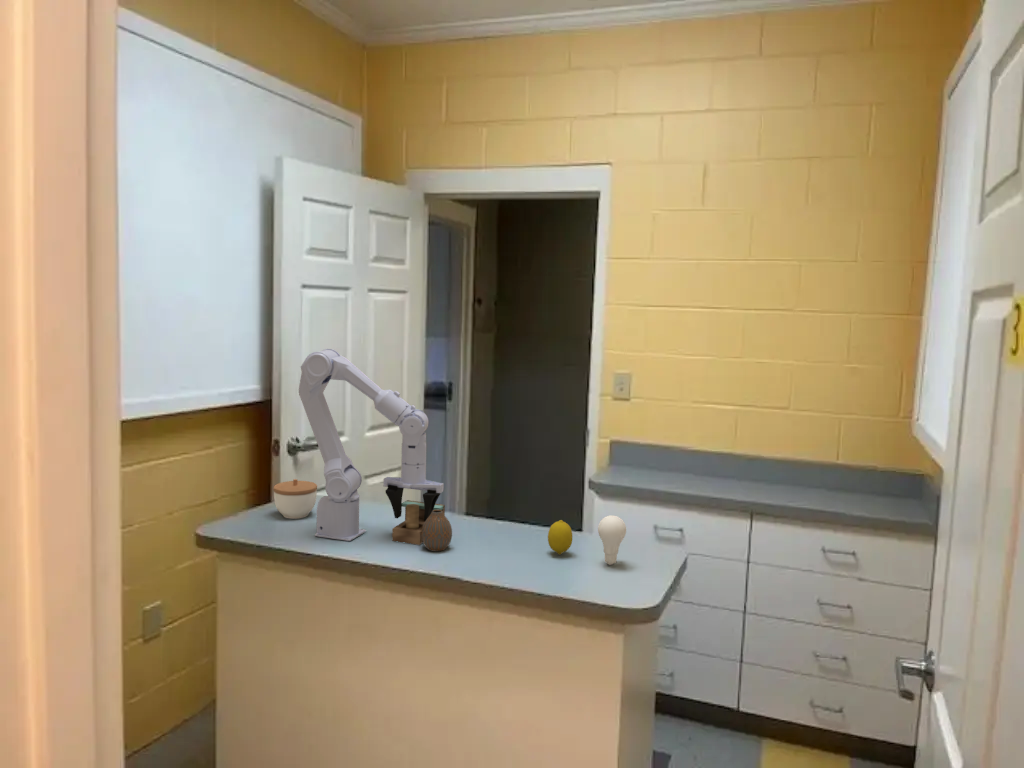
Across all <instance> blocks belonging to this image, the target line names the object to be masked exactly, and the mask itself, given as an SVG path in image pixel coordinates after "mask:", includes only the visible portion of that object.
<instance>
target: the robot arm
mask: <svg viewBox="0 0 1024 768" xmlns="http://www.w3.org/2000/svg"><path fill="white" fill-rule="evenodd" d="M300 370H301V372H300V373H301V374H300V380H299V386H298V395H299V398H300V401H301V403H302V406H303V408H304V411H305V413H306V417H307V419H308V422H309V425H310V427H311V428H310V429H311V430H312V434H313V435H314V438H315V441H316V443H317V446H318V449H319V452H320V454H321V457H322V459H323V462H324V468H323V476H324V479H325V486H324V488H325V492H326V494H327V495H324V496H322V497H321V498H320V499H319V500H318V502H317V507H316V533H314V537H317V538H318V537H319V538H326V539H333V540H338V541H339V540H340V541H345V542H351V541H353V540H354V539H357V538H358V537H359V536H361V535H363V534H364V533H366V532H367V529H365V528H363V529H362V528H360V495H359V493H358V489H359V487H361V485H362V474H361V472H360V471H359V470H358V469H357V468H356V467H355V465H354V464H353V461H352V459H351V458H350V457H349V456H348V455H347V454H346V451H345V449H344V446H343V443H342V440H341V437H340V436H339V432H338V430H337V427H336V425H335V421H334V418H333V416H332V413H331V411H330V409H329V408H330V407H329V404H328V402H327V399H326V397H325V394H324V392H325V390H326V388H327V386H328V385H329V382H330V381H331V380H336V381H344V382H345V381H346V382H347V383H348V384H350V385H351V386H353V388H355V389H356V390H358V391H360V392H361V393H362V394H364V396H367V397H368V398H369V399H371V400H372V401H373V403H374V404H373V405H374V409H375V410H376V411H377V412H378V413H380V414H381V415H383V416H384V417H385V418H386V419H387V420H388V421H390V422H391V423H392V424H394V425H395V426H397V427H399V431H400V433H401V435H402V437H401V439H402V441H401V457H400V458H401V463H400V464H401V465H400V466H401V469H400V477H395V476H392V477H391V476H387V477H384V478H383V485H382V486H383V487H384V488H386V489H385V494H386V496H387V498H388V500H389V502H390V505H391V507H392V510H393V511H392V512H393V516H394V518H395V519H399V518H400V517H402V512H403V511H402V507H403V506H402V503H403V496H404V495H403V493H404V489H407V490H418V491H425V492H424V493H423V494H422V498H423V502H424V507H425V512H424V521H426V519H427V518H428V517H429V516H430V514H431V512H432V511H433V509H434V506H435V504H437V501H438V499H439V498H440V496H441V494H442V493H443V492H444V488H445V487H444V482H438V481H433V480H429V479H427V432H426V430H427V429H428V427H429V418H428V415H427V414H426V413H425V412H424V410H422V409H419V408H418V409H417V408H416V407H417V406H415V405H414V404H412V405H411V404H410V403H408V402H407V401H406V400H405V399H404V398H403V397H401V396H400V395H401V393H400V392H399V391H398V390H394V391H393V390H392V389H382V388H381V387H380V386H379V385H378V384H377V383H375V382H374V381H373V380H372V379H371V378H369V376H367V375H366V374H365V373H364V372H363V371H362V370H361V369H360V368H359V367H357V366H356V365H355V364H354V363H353V362H352V361H350V360H349V359H348V358H347V357H345V356H343V355H341V354H340V353H339V352H338V351H337V350H335V349H332V348H325V349H323V350H320V351H313V352H311V353H310V354H308V355H307V357H306V358H305V359H304V361H303V362H302V364H301V366H300Z"/></svg>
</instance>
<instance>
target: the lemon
mask: <svg viewBox="0 0 1024 768" xmlns="http://www.w3.org/2000/svg"><path fill="white" fill-rule="evenodd" d="M549 527H550V528H549V529H548V533H547V542H548V546H549V548H550V549H551V550H552V551H554V552H555V553H557V555H559V556H560V555H562V554H563V553H564V552H567V551H568V550H569V549H570V548H571V546H572V543H573V530H572V527H571V526H570V525H569V524H568V523H566V521H563V520H562V519H560V520H558V521H555V522H553V524H551V525H550V526H549Z"/></svg>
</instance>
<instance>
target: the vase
mask: <svg viewBox="0 0 1024 768" xmlns="http://www.w3.org/2000/svg"><path fill="white" fill-rule="evenodd" d="M452 537H453V528H452V525H451V522H450V521H449V519H448V518H447V516H446V514H445V515H444V513H443V511H442V510H433V511H432V512H431V514H430V516H429V517H428V518H427V519H426V521H425V522H424V524H423V527H422V541H423V543H422V544H423V545H424V547H425V548H427V550H429V551H433V552H441V551H444V550H446V549H447V548H448V547H449V546H450V543H451V541H452Z"/></svg>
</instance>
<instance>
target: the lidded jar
mask: <svg viewBox="0 0 1024 768" xmlns="http://www.w3.org/2000/svg"><path fill="white" fill-rule="evenodd" d="M272 489H273V497H274V499H273V500H274V503H275V504H274V505H275V507H276V510H277V511H278V512H279V513H280V514H281V515H282V517H284V518H285V519H291V520H292V519H293V520H296V519H304V518H306V517H308V516H309V514H310V512H312V510H313V509H314V507H315V504H316V501H317V496H318V495H317V493H318V492H317V490H318V485H317V483H316V482H312V481H308V480H298V479H297V478H293V480H287V481H281V482H278V483H277V484H275V485H274V486H273V488H272Z"/></svg>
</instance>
